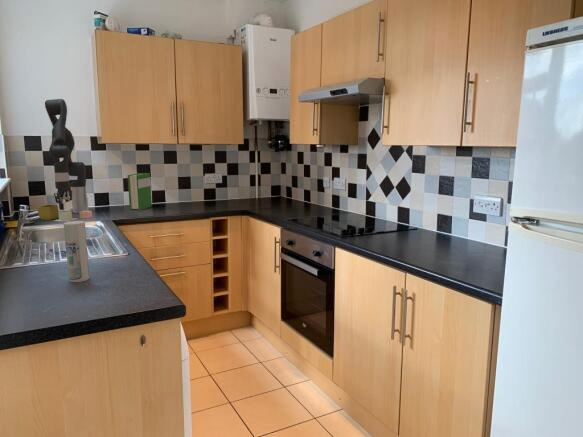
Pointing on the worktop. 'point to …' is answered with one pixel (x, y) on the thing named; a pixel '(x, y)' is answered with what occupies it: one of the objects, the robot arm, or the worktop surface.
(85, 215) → the coral brick
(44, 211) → the flower pot
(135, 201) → the hardback book
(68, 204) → the cream brick
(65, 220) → the birch board
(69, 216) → the sage brick
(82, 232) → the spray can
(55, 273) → the worktop surface
